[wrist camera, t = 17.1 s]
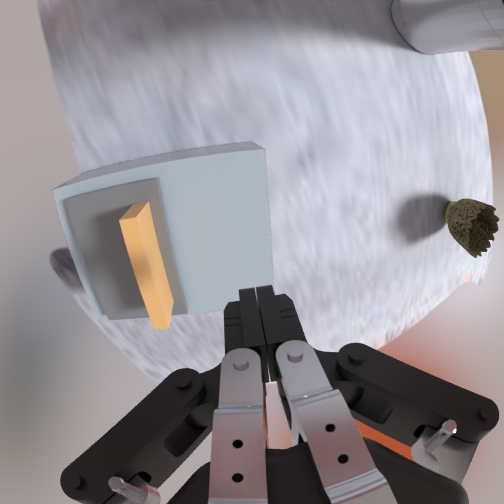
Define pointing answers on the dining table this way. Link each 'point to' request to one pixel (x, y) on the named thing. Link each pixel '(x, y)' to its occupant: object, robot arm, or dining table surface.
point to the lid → (129, 251)
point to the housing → (196, 219)
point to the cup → (471, 224)
